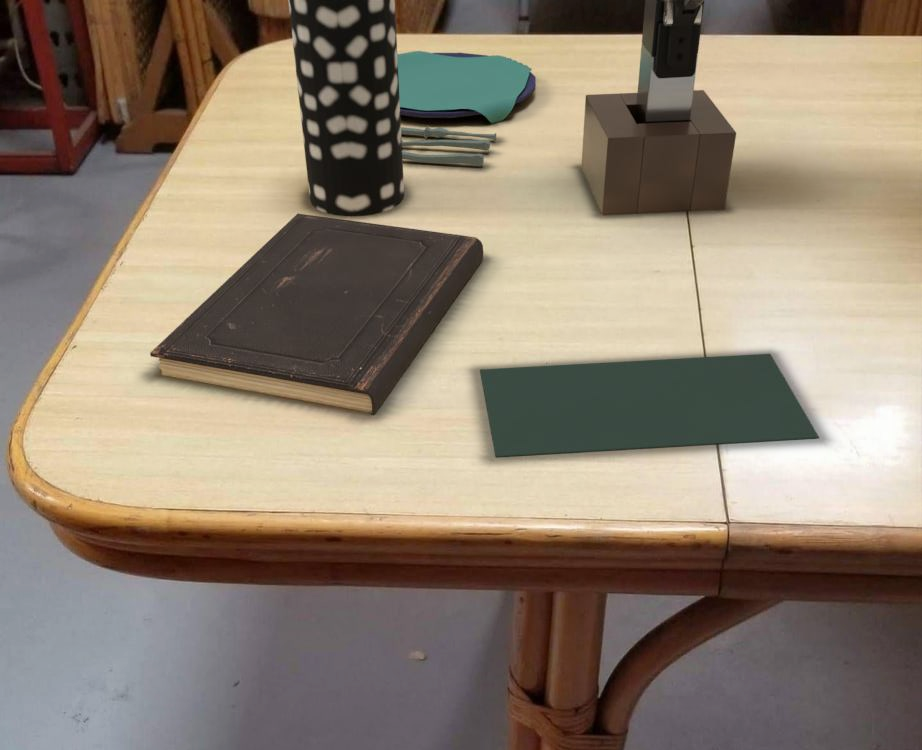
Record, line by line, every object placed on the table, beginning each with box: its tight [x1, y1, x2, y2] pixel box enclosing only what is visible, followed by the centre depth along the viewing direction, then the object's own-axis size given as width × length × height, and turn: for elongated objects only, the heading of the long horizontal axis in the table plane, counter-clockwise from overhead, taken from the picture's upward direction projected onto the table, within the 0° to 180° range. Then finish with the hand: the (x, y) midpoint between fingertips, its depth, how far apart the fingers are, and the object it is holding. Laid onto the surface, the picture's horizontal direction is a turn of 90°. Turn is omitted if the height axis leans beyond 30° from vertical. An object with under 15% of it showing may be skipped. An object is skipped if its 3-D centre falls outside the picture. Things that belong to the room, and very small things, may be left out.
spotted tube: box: [287, 0, 405, 217], centre depth 88 cm, size 8×8×20 cm
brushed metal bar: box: [635, 0, 705, 124], centre depth 89 cm, size 4×4×14 cm
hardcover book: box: [149, 213, 484, 416], centre depth 78 cm, size 16×23×2 cm
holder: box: [580, 89, 737, 216], centre depth 93 cm, size 11×11×7 cm
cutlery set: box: [397, 50, 537, 167], centre depth 110 cm, size 20×30×2 cm, turn 168°
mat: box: [479, 353, 820, 459], centre depth 69 cm, size 20×10×1 cm, turn 95°
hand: (668, 65), depth 88 cm, fingers closed on brushed metal bar, 3 cm apart
